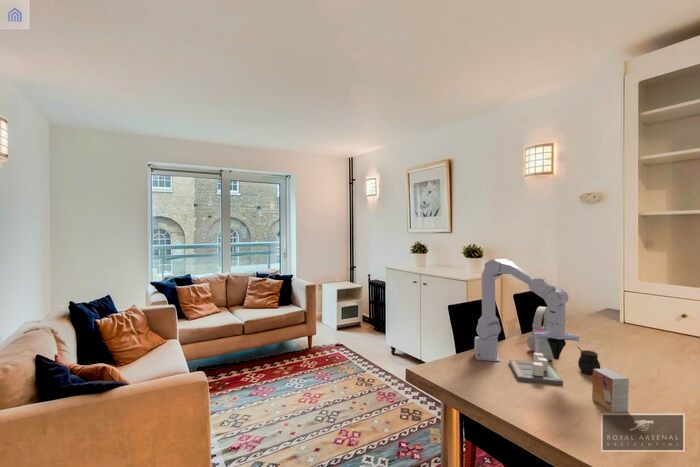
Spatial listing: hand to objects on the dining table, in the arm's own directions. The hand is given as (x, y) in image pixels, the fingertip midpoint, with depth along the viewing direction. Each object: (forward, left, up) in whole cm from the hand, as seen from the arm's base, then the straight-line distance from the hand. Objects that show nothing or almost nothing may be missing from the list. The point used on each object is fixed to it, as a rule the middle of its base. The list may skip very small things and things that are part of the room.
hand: (555, 358), depth 129 cm
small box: (+11, -16, -9) cm, 21 cm away
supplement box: (+2, +24, -9) cm, 25 cm away
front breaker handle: (-6, 0, -7) cm, 9 cm away
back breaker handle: (-3, +11, -7) cm, 13 cm away
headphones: (+6, +39, -9) cm, 40 cm away
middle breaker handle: (-3, +6, -6) cm, 9 cm away
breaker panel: (-6, +6, -8) cm, 12 cm away
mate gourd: (+15, +12, -9) cm, 21 cm away
